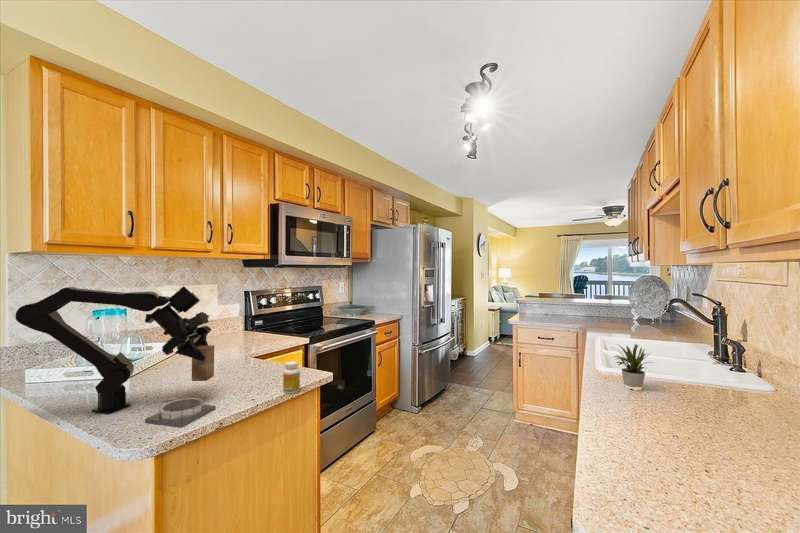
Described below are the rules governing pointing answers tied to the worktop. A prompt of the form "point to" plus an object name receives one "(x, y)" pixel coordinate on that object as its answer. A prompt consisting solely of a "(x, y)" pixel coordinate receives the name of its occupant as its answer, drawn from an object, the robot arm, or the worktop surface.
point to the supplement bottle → (291, 377)
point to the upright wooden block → (203, 364)
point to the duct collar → (180, 412)
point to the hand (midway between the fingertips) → (207, 357)
